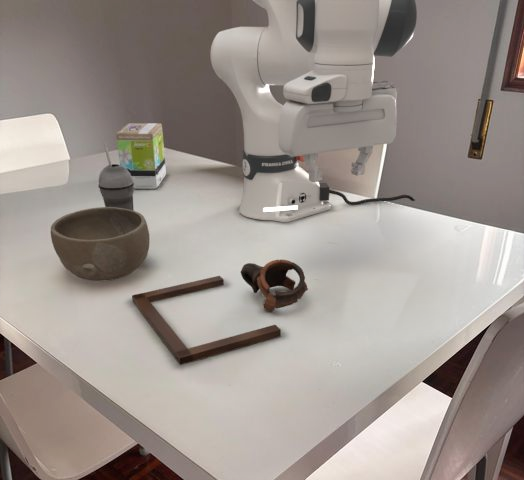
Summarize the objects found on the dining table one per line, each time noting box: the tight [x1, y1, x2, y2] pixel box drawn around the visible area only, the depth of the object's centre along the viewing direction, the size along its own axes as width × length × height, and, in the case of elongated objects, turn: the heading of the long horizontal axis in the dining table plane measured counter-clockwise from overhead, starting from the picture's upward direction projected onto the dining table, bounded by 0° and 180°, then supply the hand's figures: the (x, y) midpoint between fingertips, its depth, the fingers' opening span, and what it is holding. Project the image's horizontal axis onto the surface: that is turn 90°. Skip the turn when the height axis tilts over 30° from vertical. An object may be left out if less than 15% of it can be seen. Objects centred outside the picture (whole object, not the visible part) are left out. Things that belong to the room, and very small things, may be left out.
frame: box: [131, 275, 282, 366], centre depth 91 cm, size 16×23×1 cm
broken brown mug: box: [240, 259, 309, 313], centre depth 95 cm, size 12×10×8 cm
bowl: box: [50, 206, 150, 282], centre depth 105 cm, size 17×18×10 cm
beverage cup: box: [98, 141, 135, 211], centre depth 118 cm, size 7×7×20 cm
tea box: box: [115, 122, 167, 190], centre depth 156 cm, size 15×10×15 cm, turn 179°
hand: (336, 177), depth 92 cm, fingers open, 7 cm apart
